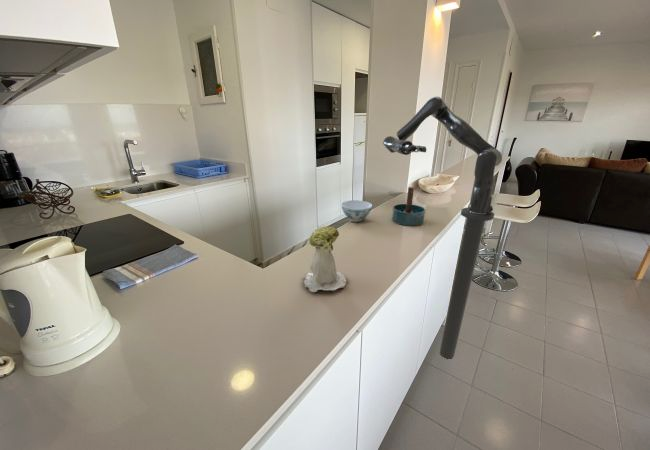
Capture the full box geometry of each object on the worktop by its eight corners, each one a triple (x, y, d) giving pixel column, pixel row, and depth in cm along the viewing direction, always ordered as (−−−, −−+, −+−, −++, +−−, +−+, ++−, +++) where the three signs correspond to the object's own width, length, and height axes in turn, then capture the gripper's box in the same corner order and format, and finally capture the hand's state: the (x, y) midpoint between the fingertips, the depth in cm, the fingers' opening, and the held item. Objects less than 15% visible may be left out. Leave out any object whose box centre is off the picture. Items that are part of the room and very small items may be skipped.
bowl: (422, 217, 142) (424, 205, 140) (424, 227, 128) (426, 214, 126) (392, 214, 146) (393, 202, 143) (391, 224, 132) (392, 211, 130)
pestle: (411, 218, 138) (415, 186, 133) (412, 221, 134) (416, 188, 129) (402, 217, 139) (406, 186, 134) (402, 220, 136) (406, 188, 130)
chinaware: (337, 215, 144) (337, 201, 141) (363, 213, 147) (364, 199, 144) (346, 226, 130) (347, 210, 127) (376, 223, 134) (377, 207, 131)
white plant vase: (351, 291, 81) (354, 234, 75) (308, 297, 78) (307, 238, 72) (339, 271, 92) (341, 219, 85) (301, 275, 89) (300, 222, 82)
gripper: (392, 140, 154) (406, 143, 140) (415, 140, 157) (431, 142, 142) (391, 154, 157) (404, 158, 142) (414, 153, 160) (429, 157, 145)
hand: (418, 150), depth 142 cm, fingers open, 8 cm apart
